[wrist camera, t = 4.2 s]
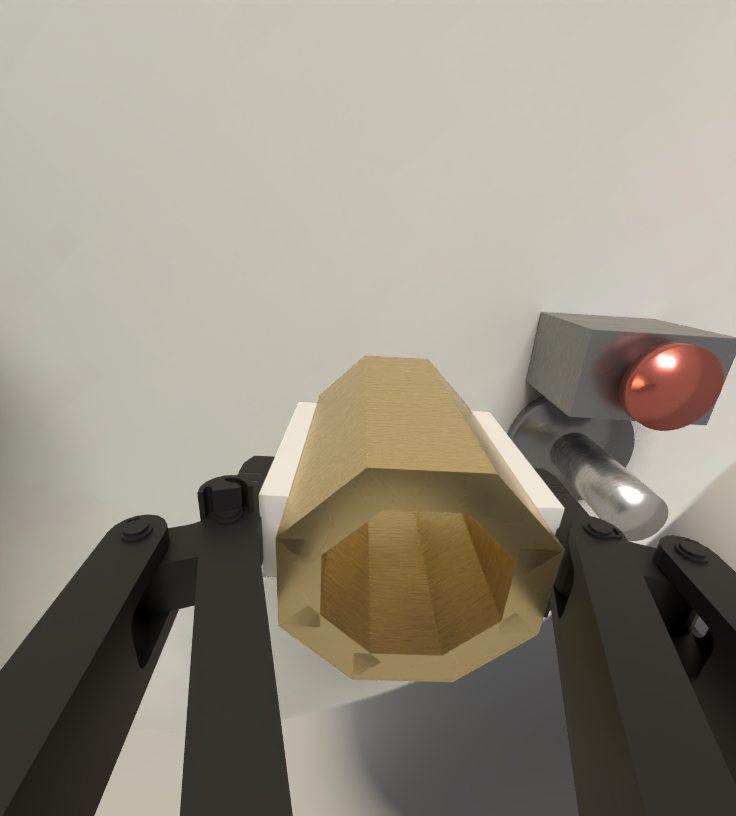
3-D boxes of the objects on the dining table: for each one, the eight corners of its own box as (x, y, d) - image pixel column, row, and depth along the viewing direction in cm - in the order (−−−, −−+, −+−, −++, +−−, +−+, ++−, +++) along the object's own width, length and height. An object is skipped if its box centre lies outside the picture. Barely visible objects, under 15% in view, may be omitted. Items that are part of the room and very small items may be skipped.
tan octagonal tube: (318, 484, 18) (280, 676, 10) (320, 353, 16) (272, 463, 8) (451, 490, 19) (522, 684, 10) (472, 361, 16) (587, 478, 8)
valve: (495, 489, 28) (540, 575, 21) (532, 311, 24) (608, 338, 16) (604, 495, 28) (689, 584, 21) (663, 319, 24) (801, 350, 16)
